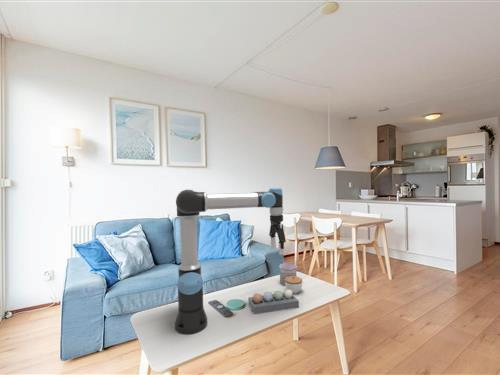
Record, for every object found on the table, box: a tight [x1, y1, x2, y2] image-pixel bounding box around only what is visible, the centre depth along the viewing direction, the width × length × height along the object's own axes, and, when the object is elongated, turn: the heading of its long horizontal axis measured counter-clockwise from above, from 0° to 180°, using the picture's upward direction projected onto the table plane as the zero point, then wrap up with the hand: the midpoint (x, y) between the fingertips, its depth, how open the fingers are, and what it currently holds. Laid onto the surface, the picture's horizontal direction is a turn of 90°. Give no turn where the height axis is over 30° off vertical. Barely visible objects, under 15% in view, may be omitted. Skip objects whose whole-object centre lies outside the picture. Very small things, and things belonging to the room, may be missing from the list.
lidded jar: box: [284, 275, 303, 295], centre depth 157 cm, size 11×11×9 cm
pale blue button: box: [263, 291, 273, 302], centre depth 139 cm, size 4×4×4 cm
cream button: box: [283, 289, 292, 299], centre depth 142 cm, size 4×4×4 cm
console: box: [248, 292, 300, 315], centre depth 140 cm, size 25×12×4 cm, turn 104°
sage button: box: [273, 290, 283, 301], centre depth 140 cm, size 4×4×4 cm
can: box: [279, 262, 298, 287], centre depth 170 cm, size 11×11×12 cm
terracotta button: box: [252, 293, 262, 304], centre depth 137 cm, size 4×4×4 cm
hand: (277, 251), depth 146 cm, fingers open, 13 cm apart
